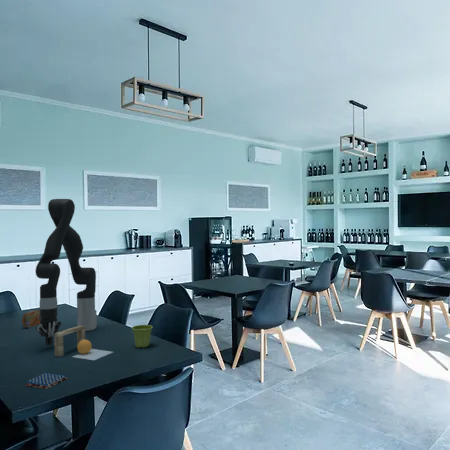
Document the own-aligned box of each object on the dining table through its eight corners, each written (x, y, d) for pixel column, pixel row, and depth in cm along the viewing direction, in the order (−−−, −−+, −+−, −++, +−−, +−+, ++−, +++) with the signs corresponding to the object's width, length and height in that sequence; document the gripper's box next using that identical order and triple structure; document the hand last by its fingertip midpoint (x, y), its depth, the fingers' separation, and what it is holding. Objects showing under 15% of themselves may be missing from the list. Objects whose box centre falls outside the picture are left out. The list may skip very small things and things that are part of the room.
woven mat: (23, 387, 146) (23, 381, 146) (46, 377, 156) (46, 371, 156) (46, 391, 142) (46, 385, 142) (68, 380, 152) (68, 374, 152)
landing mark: (92, 349, 188) (92, 348, 188) (113, 352, 183) (113, 351, 183) (72, 357, 177) (72, 356, 177) (94, 360, 172) (94, 360, 172)
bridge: (54, 355, 179) (54, 333, 179) (80, 346, 193) (80, 325, 193) (59, 356, 178) (59, 333, 178) (85, 347, 192) (85, 325, 192)
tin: (26, 329, 227) (25, 313, 227) (20, 329, 228) (20, 313, 228) (43, 322, 242) (43, 308, 242) (38, 322, 243) (38, 308, 243)
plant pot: (145, 341, 199) (145, 323, 199) (156, 345, 192) (156, 326, 192) (128, 346, 192) (127, 327, 192) (139, 350, 186) (139, 330, 186)
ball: (83, 339, 186) (92, 336, 183) (86, 352, 185) (96, 349, 183) (72, 343, 181) (81, 340, 178) (76, 357, 180) (85, 354, 177)
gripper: (42, 310, 183) (43, 349, 183) (65, 304, 195) (66, 341, 195) (30, 309, 187) (31, 347, 187) (54, 303, 199) (54, 340, 199)
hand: (49, 344), depth 191 cm, fingers closed
